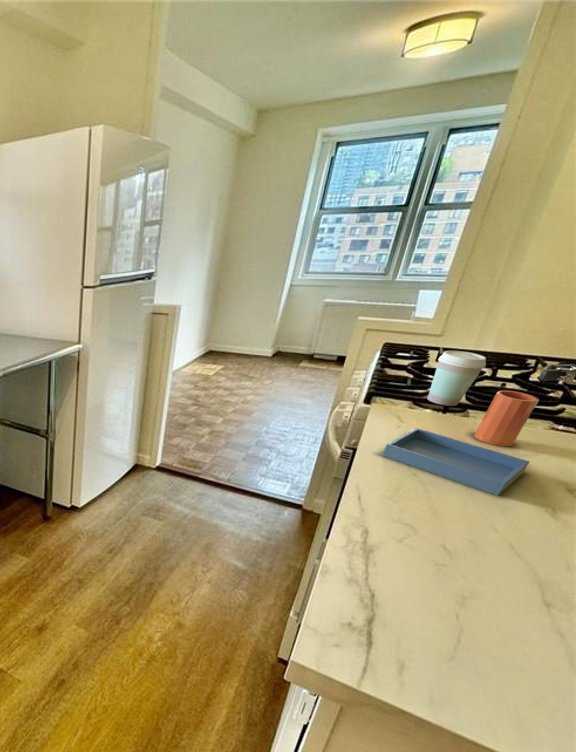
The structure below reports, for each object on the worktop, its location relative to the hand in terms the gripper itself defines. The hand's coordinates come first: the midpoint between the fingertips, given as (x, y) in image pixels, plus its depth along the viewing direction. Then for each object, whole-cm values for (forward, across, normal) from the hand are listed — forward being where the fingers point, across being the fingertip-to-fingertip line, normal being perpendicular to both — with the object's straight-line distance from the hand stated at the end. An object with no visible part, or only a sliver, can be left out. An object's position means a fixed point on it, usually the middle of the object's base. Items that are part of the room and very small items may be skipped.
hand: (567, 382), depth 98 cm
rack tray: (+31, +7, +12) cm, 34 cm away
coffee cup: (0, -20, +12) cm, 23 cm away
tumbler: (+11, 0, +12) cm, 16 cm away
